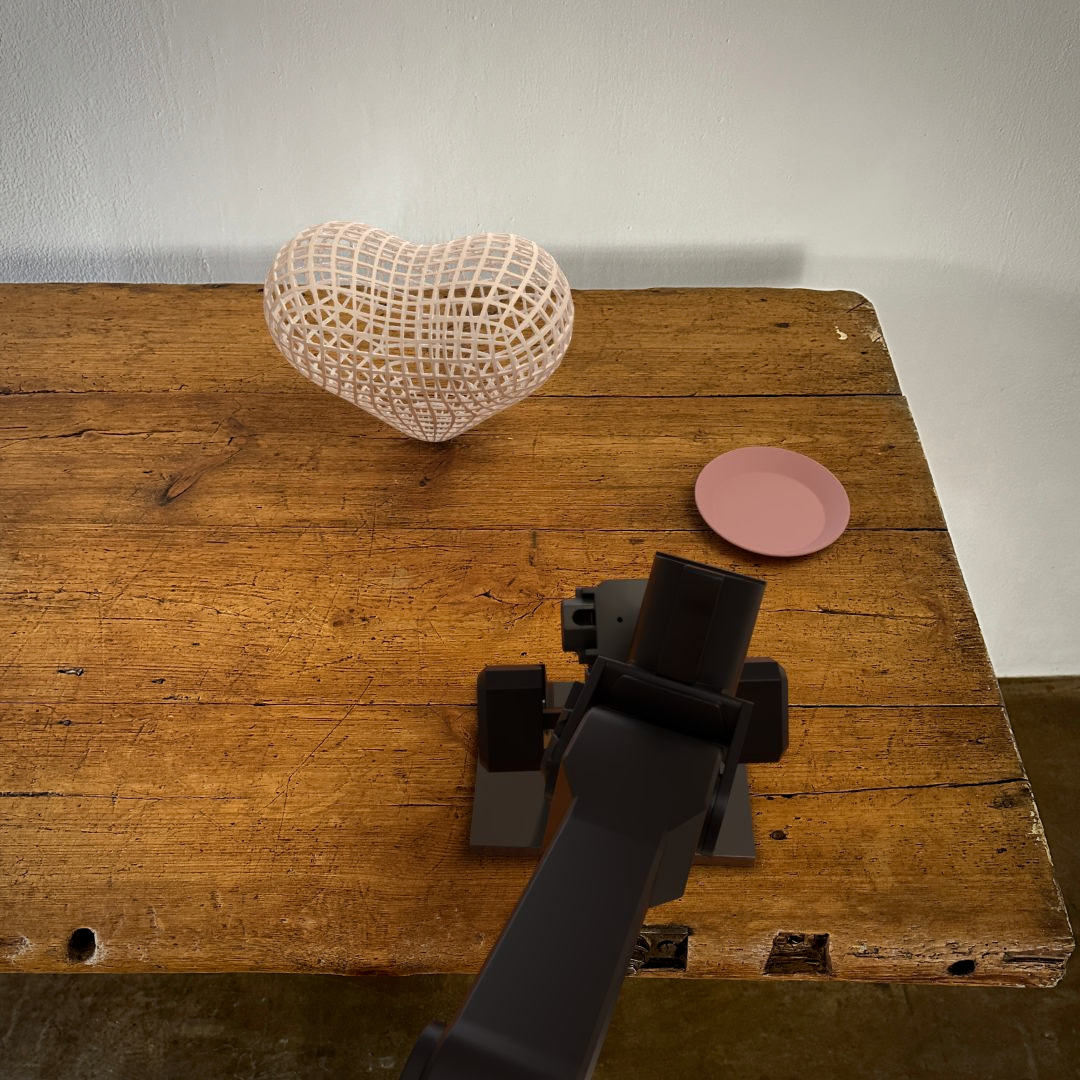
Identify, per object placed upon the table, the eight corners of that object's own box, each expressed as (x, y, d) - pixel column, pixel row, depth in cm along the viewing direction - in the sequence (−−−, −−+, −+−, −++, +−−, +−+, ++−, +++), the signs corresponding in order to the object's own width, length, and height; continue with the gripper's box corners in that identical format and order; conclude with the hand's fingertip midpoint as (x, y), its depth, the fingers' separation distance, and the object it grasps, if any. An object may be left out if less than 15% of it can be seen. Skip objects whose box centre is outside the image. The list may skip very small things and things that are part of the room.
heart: (275, 476, 95) (221, 278, 79) (321, 377, 105) (281, 184, 89) (559, 505, 92) (564, 307, 76) (577, 401, 103) (585, 207, 86)
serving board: (752, 867, 68) (756, 857, 67) (470, 854, 69) (469, 844, 68) (735, 698, 78) (737, 688, 77) (486, 688, 78) (485, 678, 77)
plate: (842, 582, 86) (847, 568, 85) (682, 553, 88) (685, 538, 87) (847, 474, 95) (852, 459, 94) (702, 450, 98) (705, 435, 96)
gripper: (819, 589, 52) (747, 567, 67) (469, 599, 51) (478, 575, 67) (821, 795, 52) (749, 726, 68) (475, 807, 52) (483, 735, 67)
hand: (616, 686), depth 68 cm, fingers open, 9 cm apart
